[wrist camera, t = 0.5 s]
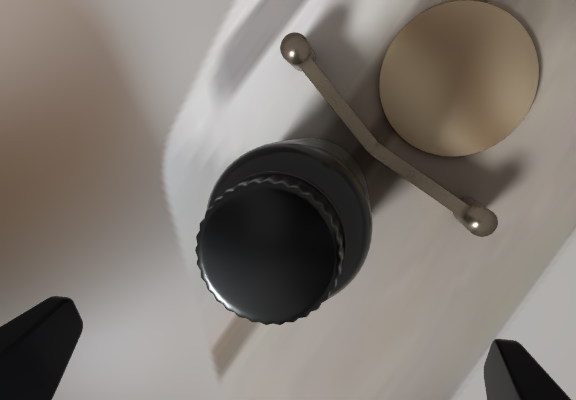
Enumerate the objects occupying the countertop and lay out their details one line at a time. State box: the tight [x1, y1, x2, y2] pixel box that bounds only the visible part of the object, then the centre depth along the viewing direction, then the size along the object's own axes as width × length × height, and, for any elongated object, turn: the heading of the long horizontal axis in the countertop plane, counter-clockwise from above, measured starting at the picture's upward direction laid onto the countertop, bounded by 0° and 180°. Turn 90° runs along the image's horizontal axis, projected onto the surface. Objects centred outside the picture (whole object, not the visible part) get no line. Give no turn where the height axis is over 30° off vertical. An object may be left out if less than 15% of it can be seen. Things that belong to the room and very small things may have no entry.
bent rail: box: [280, 33, 498, 237], centre depth 22 cm, size 2×14×3 cm, turn 47°
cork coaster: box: [379, 0, 539, 156], centre depth 22 cm, size 8×8×1 cm
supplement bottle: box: [195, 138, 372, 325], centre depth 19 cm, size 7×7×12 cm
